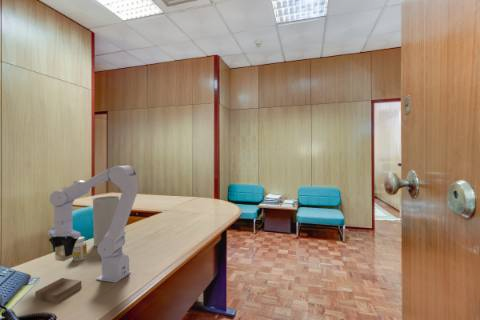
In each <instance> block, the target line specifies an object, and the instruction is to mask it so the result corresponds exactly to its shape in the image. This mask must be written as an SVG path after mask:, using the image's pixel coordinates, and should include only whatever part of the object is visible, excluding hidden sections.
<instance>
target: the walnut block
mask: <svg viewBox="0 0 480 320" xmlns="http://www.w3.org/2000/svg"><path fill="white" fill-rule="evenodd" d="M82 288H83V287H82V280H78V279H71V278H65V277H61V278H59V279H57V280H55V281H53V282H51V283H49V284H47V285H45V286H43V287H41V288H40V289H38V290H36V291H35V293H34V294H35V295H34V296H35V300H36V299H37V301H42V300H43V302H47V301H48V302H49V303H52V302H53V303H54V304H57V303H58V304H59V302H61V301H63V300H64V299H66V298H68V297H69V296H70V295H72V294H74V293H76V292H77V291H80V289H82ZM48 302H47V303H48ZM53 303H52V304H53Z"/></svg>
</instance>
